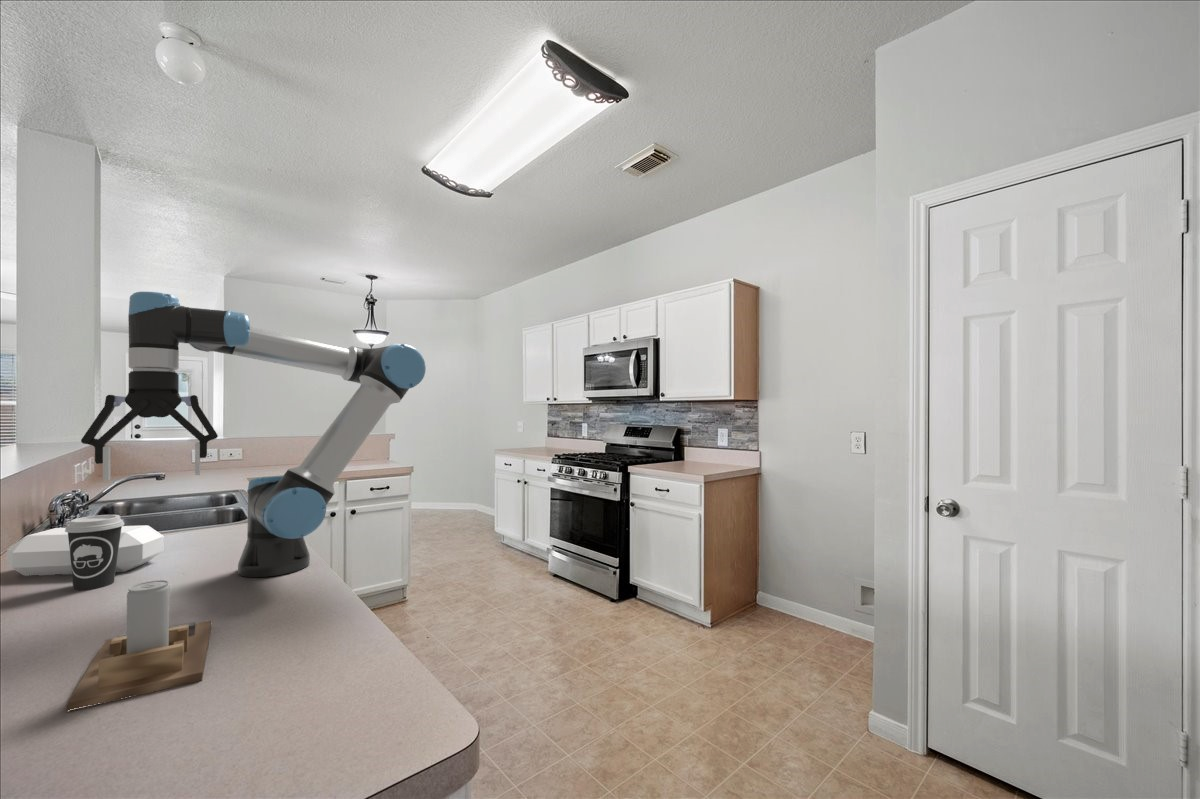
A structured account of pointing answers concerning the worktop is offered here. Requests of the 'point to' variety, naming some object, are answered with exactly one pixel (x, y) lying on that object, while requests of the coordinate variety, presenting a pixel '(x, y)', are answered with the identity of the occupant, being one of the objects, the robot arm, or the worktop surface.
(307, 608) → the worktop surface
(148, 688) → the board
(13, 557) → the crystal
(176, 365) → the robot arm
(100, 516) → the coffee cup
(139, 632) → the beverage can
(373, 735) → the worktop surface
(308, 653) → the worktop surface
